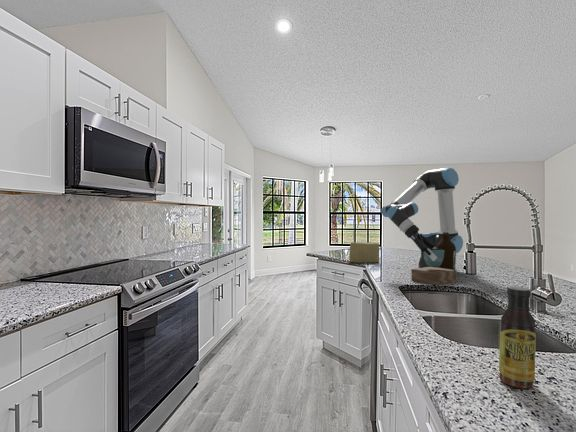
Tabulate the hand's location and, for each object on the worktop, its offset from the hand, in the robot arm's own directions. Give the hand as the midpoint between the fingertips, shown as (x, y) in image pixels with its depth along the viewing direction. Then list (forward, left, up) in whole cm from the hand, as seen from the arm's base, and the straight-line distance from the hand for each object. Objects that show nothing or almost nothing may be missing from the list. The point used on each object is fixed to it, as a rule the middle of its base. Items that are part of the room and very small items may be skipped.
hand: (438, 258), depth 183 cm
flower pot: (+1, -3, -5) cm, 5 cm away
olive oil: (-19, -9, -12) cm, 24 cm away
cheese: (-24, -80, -13) cm, 85 cm away
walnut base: (+1, -3, -12) cm, 13 cm away
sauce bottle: (+86, +77, -12) cm, 116 cm away
